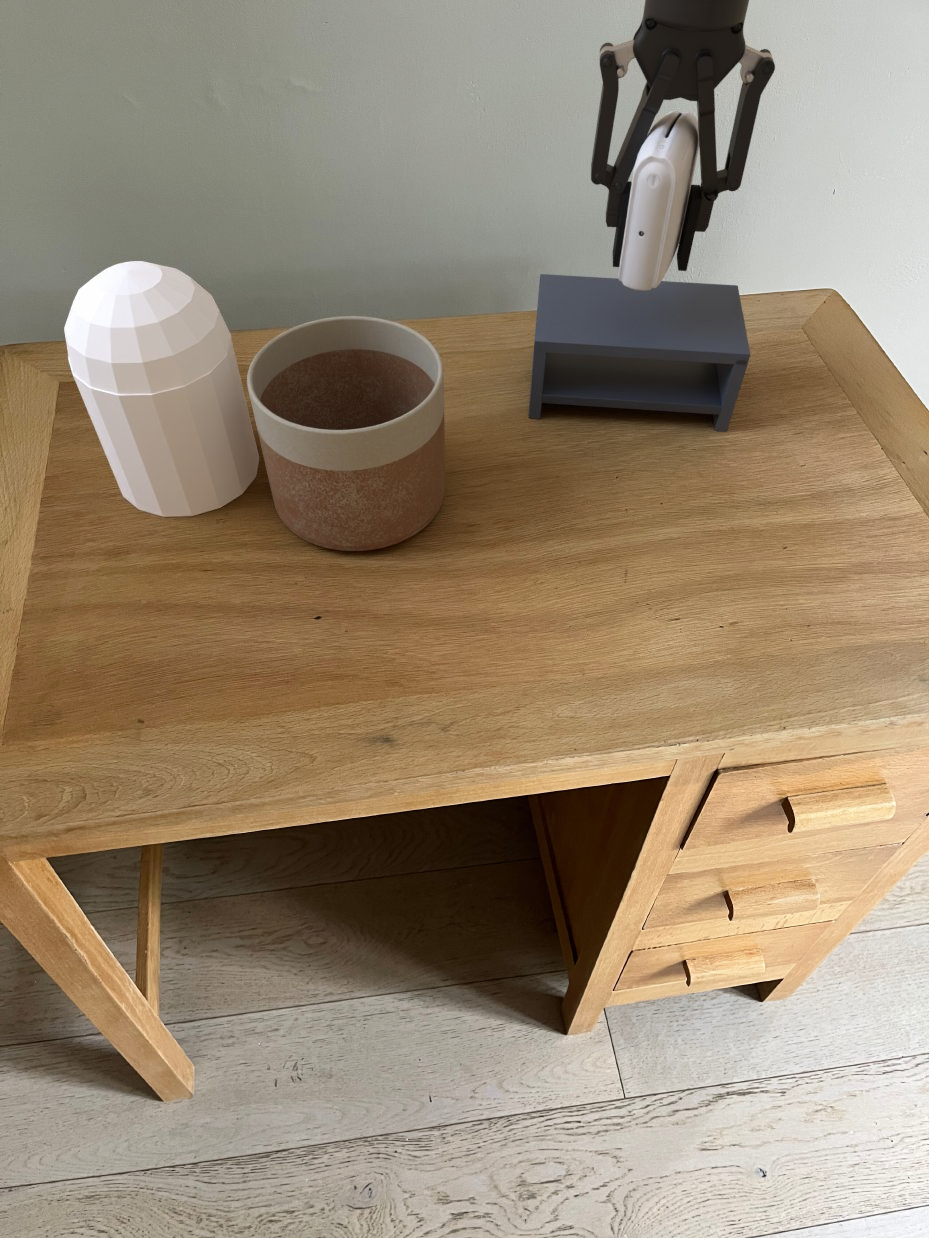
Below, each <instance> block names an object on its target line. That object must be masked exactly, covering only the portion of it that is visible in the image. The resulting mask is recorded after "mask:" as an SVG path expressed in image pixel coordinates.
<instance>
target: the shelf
mask: <svg viewBox="0 0 929 1238" xmlns="http://www.w3.org/2000/svg"><path fill="white" fill-rule="evenodd" d="M538 284H539V285H538V292H537V293H538V294H537V305H536V306H537V307H536V319H535V331H534V339H533V340H534V342H533V355H532V367H531V379H530V390H529V391H530V393H529V405H528V419H535V420H536V419H537V420H540V419H541V414H542V404H554V405H568V406H581V407H598V408H613V409H626V410H627V409H629V410H643V411H644V410H645V411H657V412H658V411H659V412H672V413H673V412H674V413H689V414H701V415H703V414H705V415H712V418H713V424H714V425H713V426H714V431H715V432H728V429H729V426H730V422H731V419H732V416H733V413H734V410H735V407H736V404H737V401H738V396H739V393H740V390H741V388H742V387H741V386H742V385H743V384H742V383H743V380H744V378H745V374H746V371H747V367H748V364H749V361H750V358H751V349H750V344H749V338H748V333H747V329H746V323H745V318H744V311H743V307H742V306H743V305H742V301H741V296H740V290H739V285H737V284H720V283H719V284H717V283H705V282H704V283H702V282H701V283H700V282H685V281H668V280H662V281H661V283H660V284H659V285H658V286H657V287H656V288H652V289H651V290H647V291H641V290H634V289H631V288H628V287H626V286H624V285H623V283H622V282H621V281H619V277H616V278H615V277H599V276H581V275H579V276H578V275H563V274H549V273H548V274H547V273H545V274H544V273H540V274H539V282H538Z"/></svg>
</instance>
